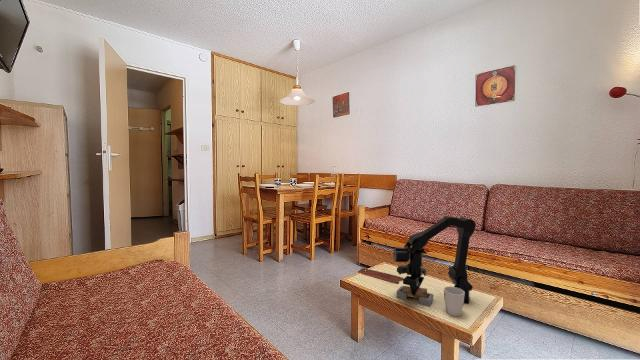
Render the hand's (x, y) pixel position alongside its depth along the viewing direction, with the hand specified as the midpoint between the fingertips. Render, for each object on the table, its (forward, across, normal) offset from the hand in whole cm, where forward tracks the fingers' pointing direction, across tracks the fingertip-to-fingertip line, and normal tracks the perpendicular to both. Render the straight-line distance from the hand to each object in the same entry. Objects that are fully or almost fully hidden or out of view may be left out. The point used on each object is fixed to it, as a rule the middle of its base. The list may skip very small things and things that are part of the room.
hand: (414, 293), depth 129 cm
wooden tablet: (+3, -17, -25) cm, 30 cm away
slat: (+1, 0, 0) cm, 1 cm away
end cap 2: (+2, 0, +5) cm, 6 cm away
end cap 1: (+2, 0, -5) cm, 6 cm away
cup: (+3, +3, +18) cm, 18 cm away
